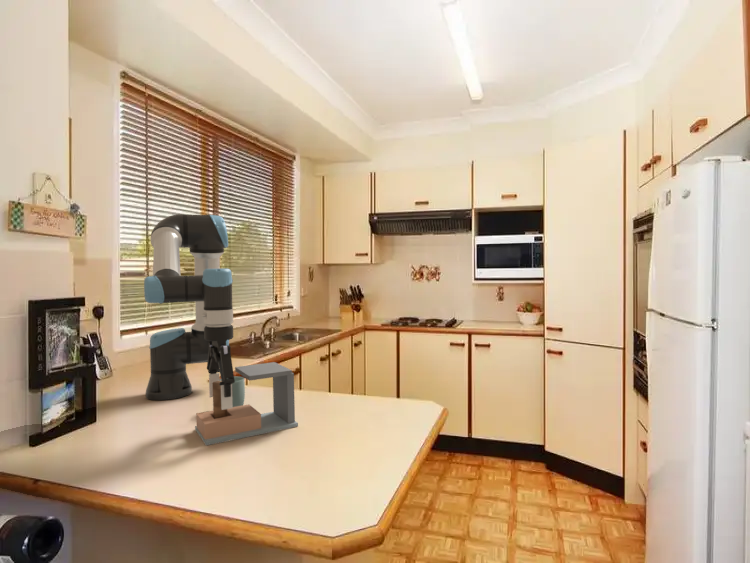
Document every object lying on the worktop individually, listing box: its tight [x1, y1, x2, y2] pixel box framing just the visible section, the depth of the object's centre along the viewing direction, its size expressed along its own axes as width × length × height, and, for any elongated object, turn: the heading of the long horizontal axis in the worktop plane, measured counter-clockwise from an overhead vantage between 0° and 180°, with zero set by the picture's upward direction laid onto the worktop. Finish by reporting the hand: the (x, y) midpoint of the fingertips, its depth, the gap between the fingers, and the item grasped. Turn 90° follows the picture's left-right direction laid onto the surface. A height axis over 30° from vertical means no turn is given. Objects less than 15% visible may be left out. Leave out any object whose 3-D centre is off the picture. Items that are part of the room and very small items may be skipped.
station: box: [194, 361, 299, 446], centre depth 130 cm, size 14×25×16 cm, turn 122°
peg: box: [212, 381, 227, 419], centre depth 127 cm, size 4×4×12 cm
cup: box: [219, 375, 246, 407], centre depth 147 cm, size 8×8×10 cm
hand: (220, 402), depth 127 cm, fingers open, 13 cm apart
